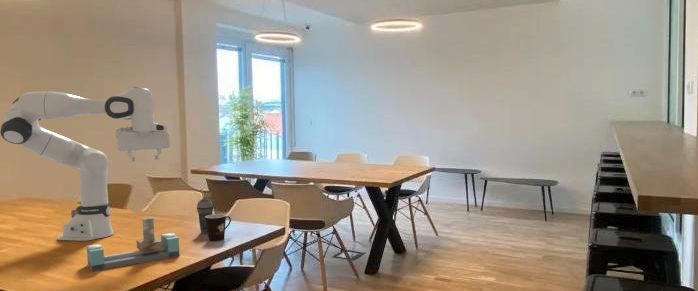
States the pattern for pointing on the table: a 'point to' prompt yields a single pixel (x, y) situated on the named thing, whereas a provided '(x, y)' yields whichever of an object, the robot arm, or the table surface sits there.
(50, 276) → the table surface
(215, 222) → the coffee mug
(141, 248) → the carriage
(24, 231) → the table surface
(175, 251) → the rail bed
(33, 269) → the table surface
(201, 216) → the beverage cup
